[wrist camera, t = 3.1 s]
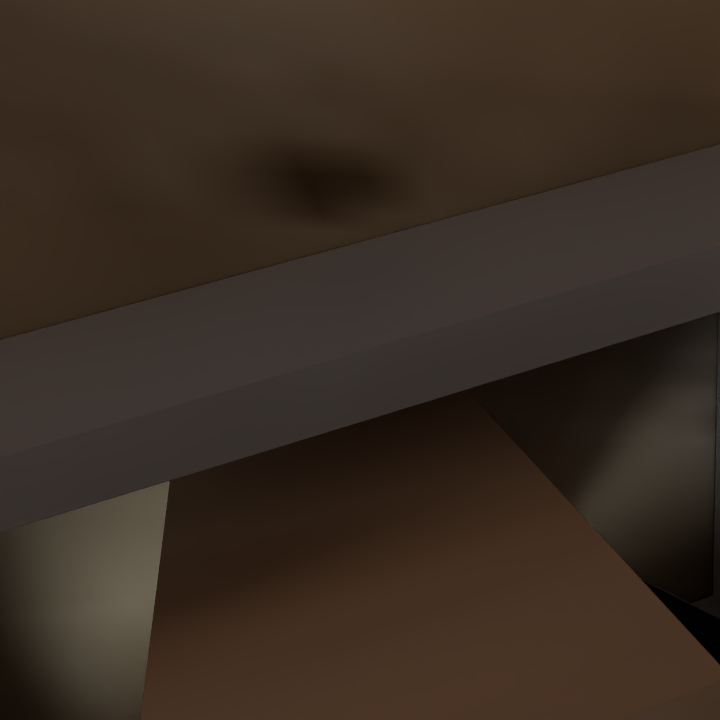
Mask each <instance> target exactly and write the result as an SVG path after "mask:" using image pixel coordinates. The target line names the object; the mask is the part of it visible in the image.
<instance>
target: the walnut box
mask: <svg viewBox="0 0 720 720" xmlns="http://www.w3.org/2000/svg"><path fill="white" fill-rule="evenodd" d="M140 720H720V665H719V664H718V662H717V661H716V660H715V659H714V658H713V657H712V656H711V655H710V654H709V653H708V652H707V651H706V649H705V648H704V647H703V646H702V645H701V644H700V643H699V642H698V641H697V640H696V639H695V638H694V636H693V635H692V634H691V633H690V632H689V631H688V630H687V629H686V628H685V627H684V626H683V624H682V623H681V622H680V621H679V620H678V619H677V618H676V617H675V616H674V615H673V614H672V613H671V611H670V610H669V609H668V608H667V607H666V606H665V605H664V604H663V603H662V602H661V601H660V600H659V598H658V597H657V596H656V595H655V594H654V593H653V592H652V591H651V590H650V589H649V588H648V587H647V585H646V584H645V583H644V582H643V581H642V580H641V579H640V578H639V577H638V576H637V575H636V573H635V572H634V571H633V570H632V569H631V568H630V567H629V566H628V565H627V564H626V563H625V562H624V560H623V559H622V558H621V557H620V556H619V555H618V554H617V553H616V552H615V551H614V550H613V549H612V547H611V546H610V545H609V544H608V543H607V542H606V541H605V540H604V539H603V538H602V537H601V535H600V534H599V533H598V532H597V531H596V530H595V529H594V528H593V527H592V526H591V525H590V524H589V522H588V521H587V520H586V519H585V518H584V517H583V516H582V515H581V514H580V513H579V512H578V511H577V509H576V508H575V507H574V506H573V505H572V504H571V503H570V502H569V501H568V500H567V499H566V498H565V496H564V495H563V494H562V493H561V492H560V491H559V490H558V489H557V488H556V487H555V486H554V484H553V483H552V482H551V481H550V480H549V479H548V478H547V477H546V476H545V475H544V474H543V473H542V471H541V470H540V469H539V468H538V467H537V466H536V465H535V464H534V463H533V462H532V461H531V460H530V458H529V457H528V456H527V455H526V454H525V453H524V452H523V451H522V450H521V449H520V448H519V446H518V445H517V444H516V443H515V442H514V441H513V440H512V439H511V438H510V437H509V436H508V435H507V433H506V432H505V431H504V430H503V429H502V428H501V427H500V426H499V425H498V424H497V423H496V422H495V420H494V419H493V418H492V417H491V416H490V415H489V414H488V413H487V412H486V411H485V410H484V408H483V407H482V406H481V405H480V404H479V403H478V402H477V401H476V400H475V399H474V398H473V397H472V395H471V394H470V393H469V392H468V391H467V390H463V391H460V392H457V393H453V394H450V395H447V396H444V397H440V398H437V399H434V400H430V401H427V402H424V403H421V404H417V405H414V406H411V407H408V408H404V409H401V410H398V411H395V412H391V413H388V414H385V415H382V416H378V417H375V418H372V419H368V420H365V421H362V422H359V423H355V424H352V425H349V426H346V427H342V428H339V429H336V430H333V431H329V432H326V433H323V434H320V435H316V436H313V437H310V438H306V439H303V440H300V441H297V442H293V443H290V444H287V445H284V446H280V447H277V448H274V449H271V450H267V451H264V452H261V453H258V454H254V455H251V456H248V457H245V458H241V459H238V460H235V461H231V462H228V463H225V464H222V465H218V466H215V467H212V468H209V469H205V470H202V471H199V472H196V473H192V474H189V475H186V476H183V477H179V478H176V479H173V480H170V485H169V493H168V502H167V510H166V518H165V526H164V534H163V542H162V550H161V558H160V566H159V574H158V582H157V590H156V598H155V606H154V614H153V622H152V630H151V638H150V647H149V655H148V663H147V671H146V679H145V687H144V695H143V703H142V711H141V719H140Z"/></svg>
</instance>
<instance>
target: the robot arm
mask: <svg viewBox="0 0 720 720" xmlns="http://www.w3.org/2000/svg"><path fill="white" fill-rule="evenodd" d="M640 579H641V578H640ZM641 580H642V581H643V582H644V583H645V584H646V585H647V587H648V588H649V589H650V590H651V591H652V592H653V593H654V594H655V595H656V596H657V597H658V598H659V600H660V601H661V602H662V603H663V604H664V605H665V606H666V607H667V608H668V609H669V610H670V611H671V613H672V614H673V615H674V616H675V617H676V618H677V619H678V620H679V621H680V622H681V623H682V624H683V626H684V627H685V628H686V629H687V630H688V631H689V632H690V633H691V634H692V635H693V636H694V638H695V639H696V640H697V641H698V642H699V643H700V644H701V645H702V646H703V647H704V648H705V649H706V651H707V652H708V653H709V654H710V655H711V656H712V657H713V658H714V659H715V660H716V661H717V662H718V664H719V665H720V618H719V617H717V616H715V615H713V614H711V613H709V612H707V611H705V610H703V609H701V608H699V607H697V606H695V605H693V604H691V603H689V602H687V601H685V600H683V599H681V598H679V597H677V596H675V595H673V594H671V593H669V592H667V591H665V590H663V589H661V588H659V587H657V586H655V585H653V584H651V583H649V582H647V581H645V580H643V579H641Z"/></svg>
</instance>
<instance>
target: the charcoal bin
mask: <svg viewBox="0 0 720 720" xmlns="http://www.w3.org/2000/svg"><path fill="white" fill-rule="evenodd" d="M718 312H719V320H718V369H717V419H716V468H715V518H714V567H713V595H712V596H710V597H707V598H704V599H701V600H699V601H696V602H693V603H691V604H693V605H695V606H697V607H699V608H701V609H703V610H705V611H707V612H709V613H711V614H713V615H715V616H717V617H719V618H720V144H719V145H715V146H712V147H708V148H704V149H701V150H697V151H693V152H690V153H686V154H682V155H678V156H675V157H671V158H667V159H664V160H660V161H656V162H653V163H649V164H645V165H642V166H638V167H634V168H631V169H627V170H623V171H620V172H616V173H612V174H609V175H605V176H601V177H598V178H594V179H590V180H587V181H583V182H579V183H575V184H572V185H568V186H564V187H561V188H557V189H553V190H550V191H546V192H542V193H539V194H535V195H531V196H528V197H524V198H520V199H517V200H513V201H509V202H506V203H502V204H498V205H495V206H491V207H487V208H483V209H480V210H476V211H472V212H469V213H465V214H461V215H458V216H454V217H450V218H447V219H443V220H439V221H436V222H432V223H428V224H425V225H421V226H417V227H414V228H410V229H406V230H403V231H399V232H395V233H392V234H388V235H384V236H380V237H377V238H373V239H369V240H366V241H362V242H358V243H355V244H351V245H347V246H344V247H340V248H336V249H333V250H329V251H325V252H322V253H318V254H314V255H311V256H307V257H303V258H300V259H296V260H292V261H288V262H285V263H281V264H277V265H274V266H270V267H266V268H263V269H259V270H255V271H252V272H248V273H244V274H241V275H237V276H233V277H230V278H226V279H222V280H219V281H215V282H211V283H208V284H204V285H200V286H196V287H193V288H189V289H185V290H182V291H178V292H174V293H171V294H167V295H163V296H160V297H156V298H152V299H149V300H145V301H141V302H138V303H134V304H130V305H127V306H123V307H119V308H116V309H112V310H108V311H105V312H101V313H97V314H93V315H90V316H86V317H82V318H79V319H75V320H71V321H68V322H64V323H60V324H57V325H53V326H49V327H46V328H42V329H38V330H35V331H31V332H27V333H24V334H20V335H16V336H13V337H9V338H5V339H1V340H0V532H3V531H6V530H10V529H13V528H16V527H19V526H23V525H26V524H29V523H32V522H36V521H39V520H42V519H45V518H49V517H52V516H55V515H59V514H62V513H65V512H68V511H72V510H75V509H78V508H81V507H85V506H88V505H91V504H94V503H98V502H101V501H104V500H107V499H111V498H114V497H117V496H121V495H124V494H127V493H130V492H134V491H137V490H140V489H143V488H147V487H150V486H153V485H156V484H160V483H163V482H166V481H169V480H173V479H176V478H179V477H183V476H186V475H189V474H192V473H196V472H199V471H202V470H205V469H209V468H212V467H215V466H218V465H222V464H225V463H228V462H231V461H235V460H238V459H241V458H245V457H248V456H251V455H254V454H258V453H261V452H264V451H267V450H271V449H274V448H277V447H280V446H284V445H287V444H290V443H293V442H297V441H300V440H303V439H306V438H310V437H313V436H316V435H320V434H323V433H326V432H329V431H333V430H336V429H339V428H342V427H346V426H349V425H352V424H355V423H359V422H362V421H365V420H368V419H372V418H375V417H378V416H382V415H385V414H388V413H391V412H395V411H398V410H401V409H404V408H408V407H411V406H414V405H417V404H421V403H424V402H427V401H430V400H434V399H437V398H440V397H444V396H447V395H450V394H453V393H457V392H460V391H463V390H466V389H470V388H473V387H476V386H479V385H483V384H486V383H489V382H492V381H496V380H499V379H502V378H505V377H509V376H512V375H515V374H519V373H522V372H525V371H528V370H532V369H535V368H538V367H541V366H545V365H548V364H551V363H554V362H558V361H561V360H564V359H567V358H571V357H574V356H577V355H581V354H584V353H587V352H590V351H594V350H597V349H600V348H603V347H607V346H610V345H613V344H616V343H620V342H623V341H626V340H629V339H633V338H636V337H639V336H643V335H646V334H649V333H652V332H656V331H659V330H662V329H665V328H669V327H672V326H675V325H678V324H682V323H685V322H688V321H691V320H695V319H698V318H701V317H705V316H708V315H711V314H714V313H718Z"/></svg>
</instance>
